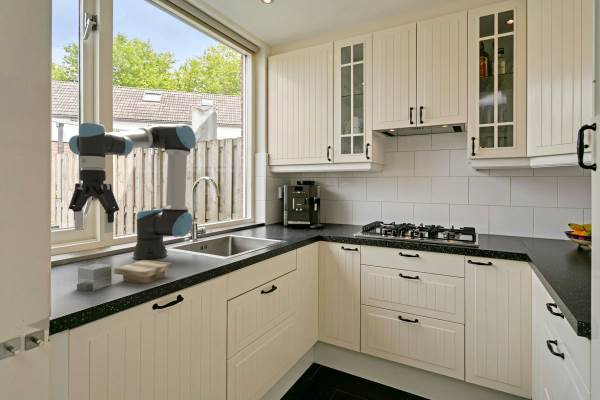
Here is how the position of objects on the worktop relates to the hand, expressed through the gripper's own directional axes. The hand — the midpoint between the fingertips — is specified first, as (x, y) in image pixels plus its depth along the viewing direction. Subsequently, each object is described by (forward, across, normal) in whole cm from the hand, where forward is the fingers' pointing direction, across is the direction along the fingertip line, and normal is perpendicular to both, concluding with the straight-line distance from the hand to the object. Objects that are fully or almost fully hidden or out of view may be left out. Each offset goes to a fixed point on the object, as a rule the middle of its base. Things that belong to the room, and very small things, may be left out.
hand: (93, 231), depth 113 cm
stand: (+19, +9, +13) cm, 25 cm away
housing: (+19, 0, 0) cm, 19 cm away
